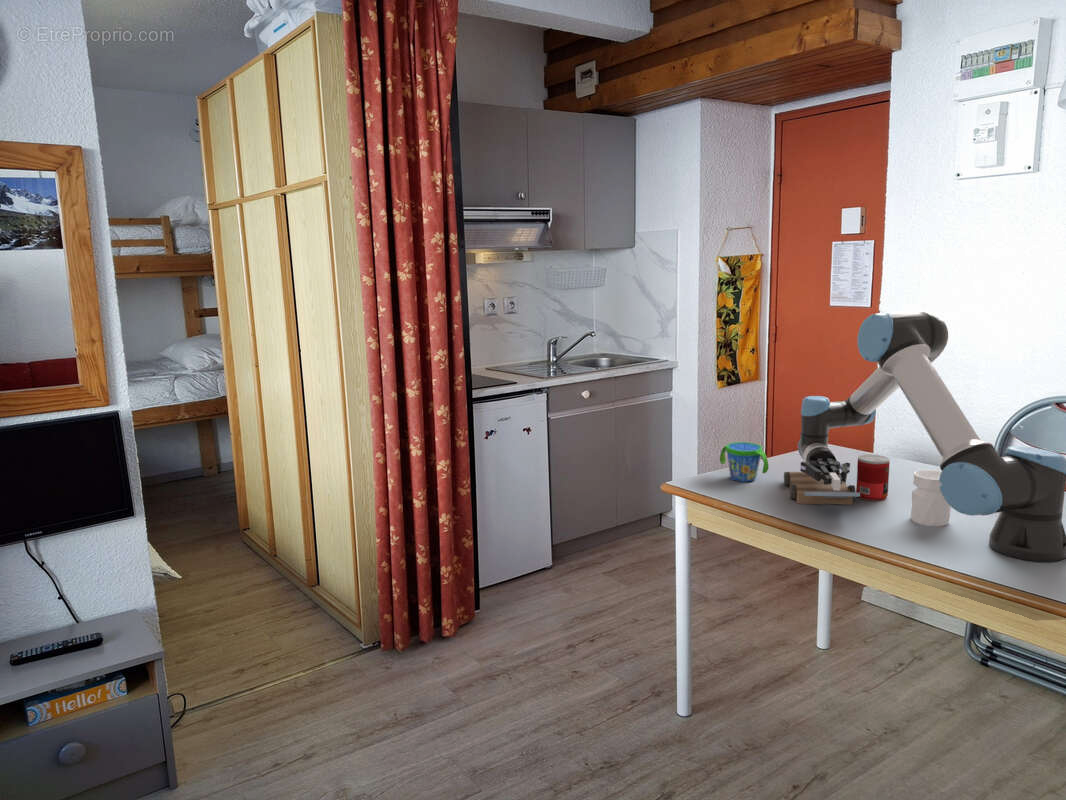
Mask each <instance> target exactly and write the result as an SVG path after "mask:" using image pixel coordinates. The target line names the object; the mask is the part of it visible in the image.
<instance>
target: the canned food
mask: <svg viewBox="0 0 1066 800" xmlns="http://www.w3.org/2000/svg"><path fill="white" fill-rule="evenodd" d="M890 461H891V460H890V458H889V457H888V456H885V455H879V454H868V453H867V454H861V455H859V456H858V457H857V464H856V465H857V466H856V469H857V470H856V471H857V472H856V487H855V492H857V493H860V497H859V498H860V499H863V500H866V501H875V502H876V501H878V502H879V501H884V500H886V499H887V497H888V495H889V482H890V481H889V480H890V479H889V478H890V463H891V462H890Z"/></svg>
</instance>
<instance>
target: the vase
mask: <svg viewBox="0 0 1066 800" xmlns="http://www.w3.org/2000/svg"><path fill="white" fill-rule="evenodd" d="M941 472H942V470H937V469H936V470H935V469H918V470H916V471H914V472H913V483H912V484H913V485H914V486H915V488H914V489H913V490H912V491H911V501H912V502H911V510H910V520H911V521H912V522H913V523H916V524H919V525H921V526H927V527H944V526H947V525H949V523H950V516H951V508H952V507H951V506H950V505H949V504H948V503H947V502H946V500H945V499H944V497H943V495H942V493H941V490H940V485H941V482H939V478H940V474H941Z"/></svg>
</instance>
